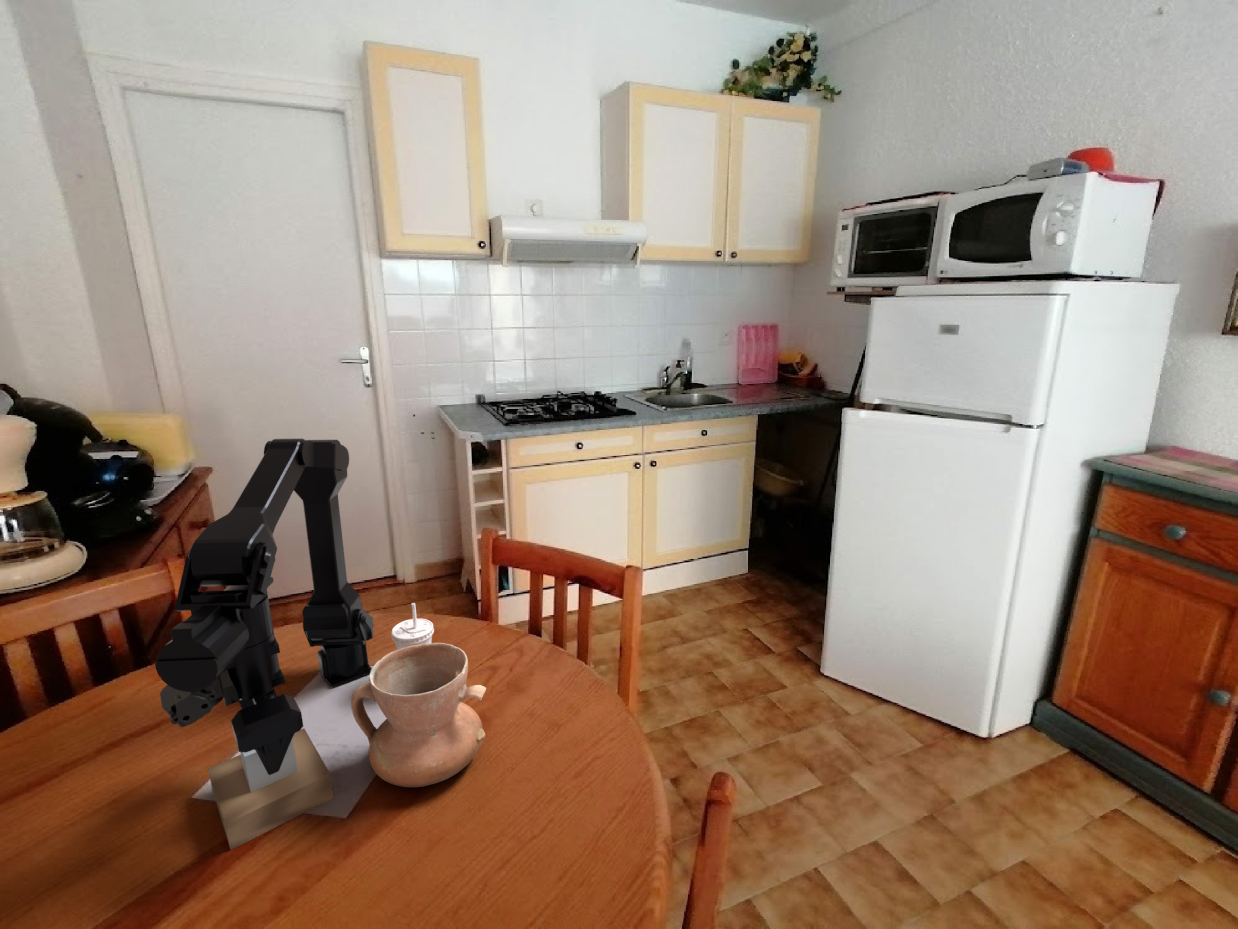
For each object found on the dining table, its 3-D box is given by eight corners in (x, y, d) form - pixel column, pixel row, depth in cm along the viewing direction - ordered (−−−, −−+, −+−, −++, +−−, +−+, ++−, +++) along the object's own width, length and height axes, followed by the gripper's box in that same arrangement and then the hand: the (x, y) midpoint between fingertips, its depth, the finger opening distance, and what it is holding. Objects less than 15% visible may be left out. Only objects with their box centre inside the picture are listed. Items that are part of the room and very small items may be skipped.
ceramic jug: (505, 725, 87) (498, 638, 83) (473, 805, 73) (464, 703, 69) (385, 720, 88) (374, 634, 85) (332, 797, 74) (316, 698, 71)
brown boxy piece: (307, 753, 82) (304, 728, 81) (334, 801, 74) (330, 774, 73) (213, 795, 75) (207, 768, 74) (231, 853, 67) (225, 824, 66)
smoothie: (425, 696, 93) (418, 615, 90) (388, 690, 95) (379, 611, 91) (445, 672, 99) (438, 596, 96) (410, 667, 101) (402, 592, 97)
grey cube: (243, 768, 74) (236, 733, 73) (287, 749, 77) (282, 716, 76) (250, 792, 70) (244, 757, 69) (297, 772, 73) (292, 737, 72)
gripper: (152, 627, 71) (176, 739, 75) (165, 707, 57) (195, 838, 61) (259, 599, 78) (276, 702, 82) (294, 663, 64) (313, 784, 68)
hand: (265, 750), depth 73 cm, fingers open, 9 cm apart
